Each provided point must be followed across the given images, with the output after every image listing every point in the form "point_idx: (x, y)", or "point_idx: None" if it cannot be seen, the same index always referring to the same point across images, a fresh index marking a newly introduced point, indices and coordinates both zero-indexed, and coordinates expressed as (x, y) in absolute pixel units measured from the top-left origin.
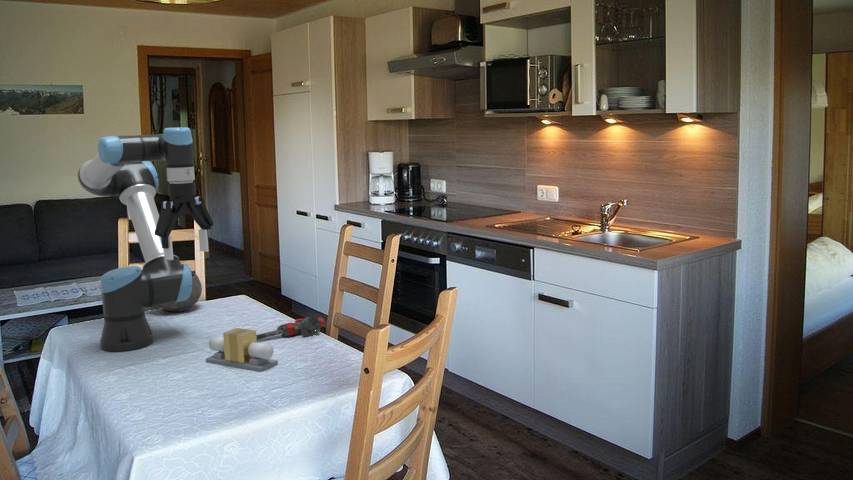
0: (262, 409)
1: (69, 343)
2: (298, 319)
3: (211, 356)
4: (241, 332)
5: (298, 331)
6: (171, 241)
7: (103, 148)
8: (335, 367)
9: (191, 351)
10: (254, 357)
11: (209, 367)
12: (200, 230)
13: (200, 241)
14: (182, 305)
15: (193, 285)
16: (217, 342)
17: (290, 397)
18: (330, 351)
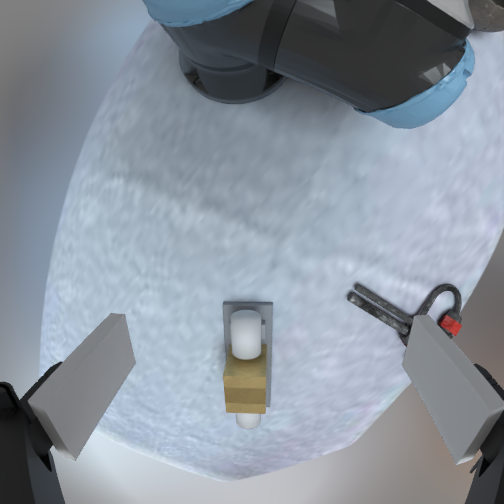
0: (146, 445)
1: None
2: (454, 327)
3: (237, 306)
4: (243, 400)
5: None
6: (85, 435)
7: None
8: (288, 454)
9: (261, 224)
10: None
11: (205, 326)
12: (476, 425)
13: (440, 361)
14: None
15: (495, 20)
16: (232, 340)
17: (184, 454)
18: (347, 423)
